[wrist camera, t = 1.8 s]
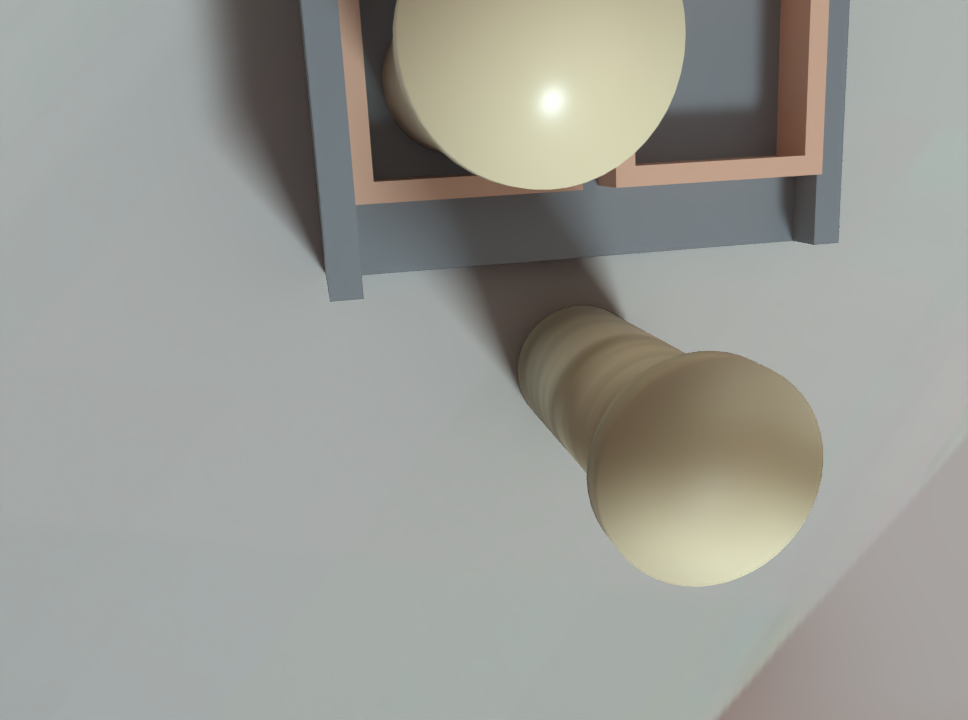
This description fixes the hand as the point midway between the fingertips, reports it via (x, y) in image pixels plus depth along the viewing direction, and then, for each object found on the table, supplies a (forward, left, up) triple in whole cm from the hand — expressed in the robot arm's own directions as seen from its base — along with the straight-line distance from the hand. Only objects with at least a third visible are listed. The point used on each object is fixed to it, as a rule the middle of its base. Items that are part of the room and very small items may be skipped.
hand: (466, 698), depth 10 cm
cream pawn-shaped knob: (-3, -9, -24) cm, 25 cm away
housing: (+8, -9, -24) cm, 26 cm away
